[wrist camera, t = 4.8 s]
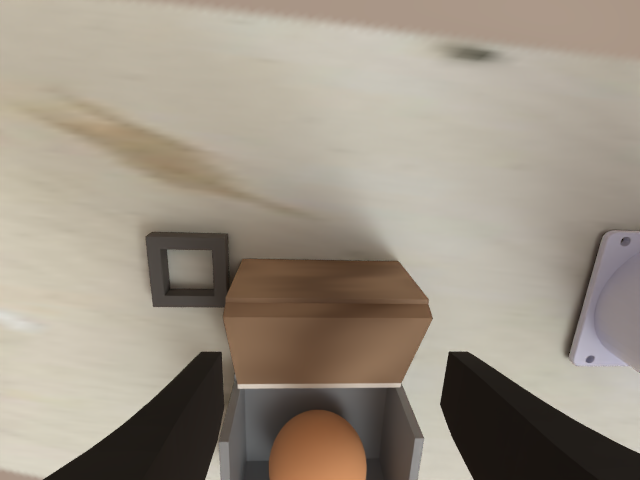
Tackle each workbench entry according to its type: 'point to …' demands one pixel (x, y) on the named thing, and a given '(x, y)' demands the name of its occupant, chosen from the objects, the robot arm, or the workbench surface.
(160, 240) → the dark gray picture frame
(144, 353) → the workbench surface
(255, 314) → the ramp
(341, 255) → the workbench surface
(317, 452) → the ball
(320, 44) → the workbench surface
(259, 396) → the gray open storage bin
